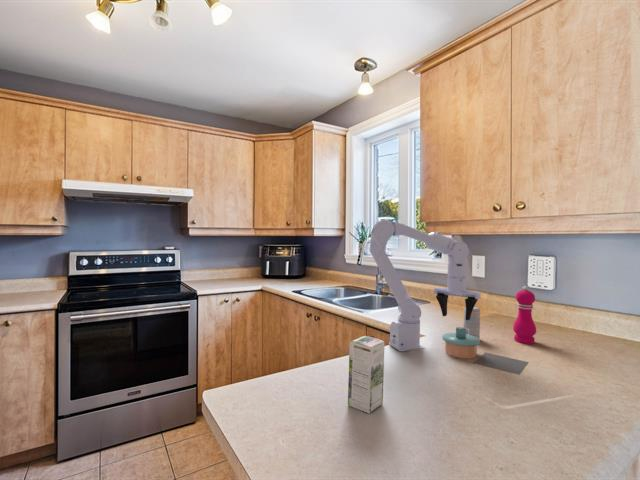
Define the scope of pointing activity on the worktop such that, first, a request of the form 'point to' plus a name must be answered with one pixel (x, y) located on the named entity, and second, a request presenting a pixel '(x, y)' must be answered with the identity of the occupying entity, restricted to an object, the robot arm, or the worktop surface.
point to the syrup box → (366, 373)
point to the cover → (461, 338)
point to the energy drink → (473, 322)
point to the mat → (501, 363)
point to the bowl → (460, 350)
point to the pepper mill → (524, 317)
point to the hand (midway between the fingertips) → (456, 317)
